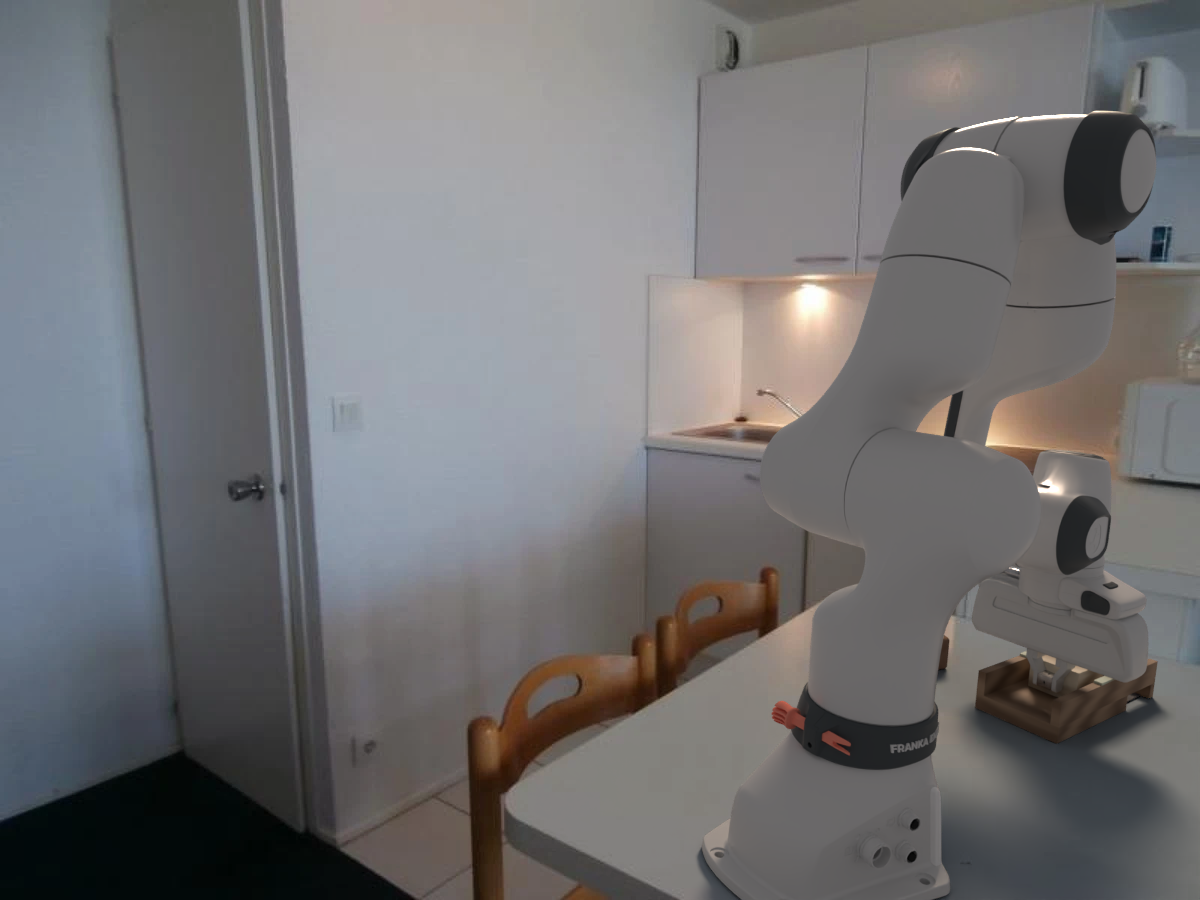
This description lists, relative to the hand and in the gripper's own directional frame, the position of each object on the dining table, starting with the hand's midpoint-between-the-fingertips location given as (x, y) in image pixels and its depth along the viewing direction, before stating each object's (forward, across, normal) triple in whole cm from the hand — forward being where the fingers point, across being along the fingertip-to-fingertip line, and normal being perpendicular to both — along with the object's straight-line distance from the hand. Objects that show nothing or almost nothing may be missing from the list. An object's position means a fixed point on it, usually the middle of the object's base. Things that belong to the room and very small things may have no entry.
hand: (1047, 687), depth 106 cm
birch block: (+1, 0, +4) cm, 4 cm away
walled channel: (+3, 0, +5) cm, 6 cm away
